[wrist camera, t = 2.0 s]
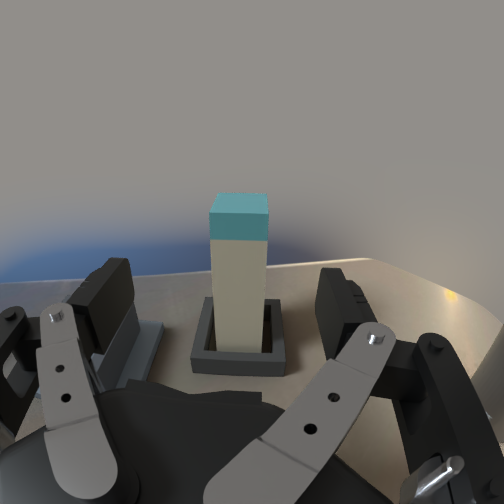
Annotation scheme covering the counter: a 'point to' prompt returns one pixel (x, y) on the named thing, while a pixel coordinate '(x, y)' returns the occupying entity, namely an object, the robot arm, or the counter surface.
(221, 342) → the plug
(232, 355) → the gray square frame
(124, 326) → the port
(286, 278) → the counter surface
